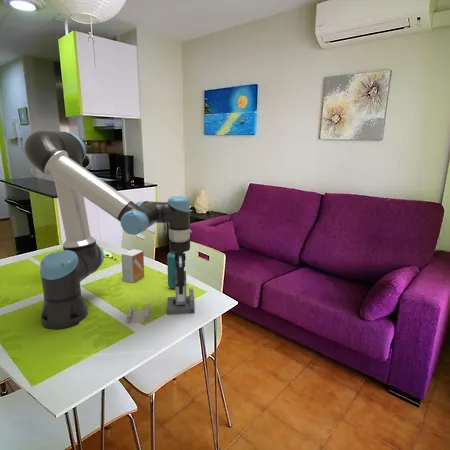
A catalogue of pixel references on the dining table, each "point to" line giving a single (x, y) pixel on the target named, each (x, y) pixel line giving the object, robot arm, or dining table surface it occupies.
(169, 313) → the port
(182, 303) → the plug
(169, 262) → the beverage bottle
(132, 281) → the small box
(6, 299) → the dining table surface
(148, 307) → the grey u-shaped block
